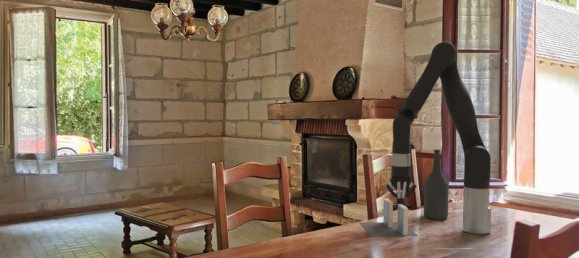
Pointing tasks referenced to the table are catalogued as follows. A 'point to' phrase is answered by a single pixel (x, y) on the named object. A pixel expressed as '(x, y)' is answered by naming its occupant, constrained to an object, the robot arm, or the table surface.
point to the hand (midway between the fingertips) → (400, 207)
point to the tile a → (388, 212)
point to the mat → (383, 229)
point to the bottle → (436, 192)
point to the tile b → (402, 219)
